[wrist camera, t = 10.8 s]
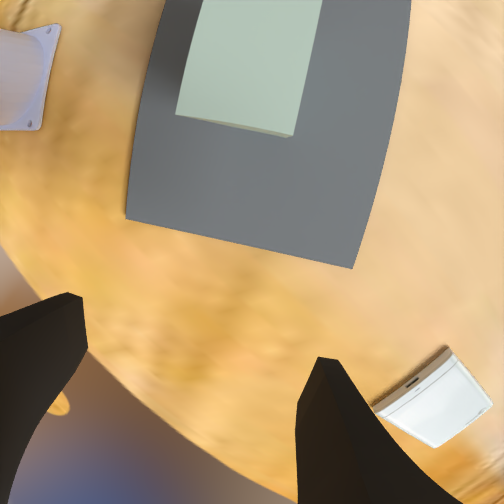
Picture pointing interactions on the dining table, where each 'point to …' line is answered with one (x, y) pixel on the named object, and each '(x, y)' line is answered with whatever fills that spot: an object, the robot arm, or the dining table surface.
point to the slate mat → (275, 141)
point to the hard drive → (436, 401)
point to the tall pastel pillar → (249, 63)
